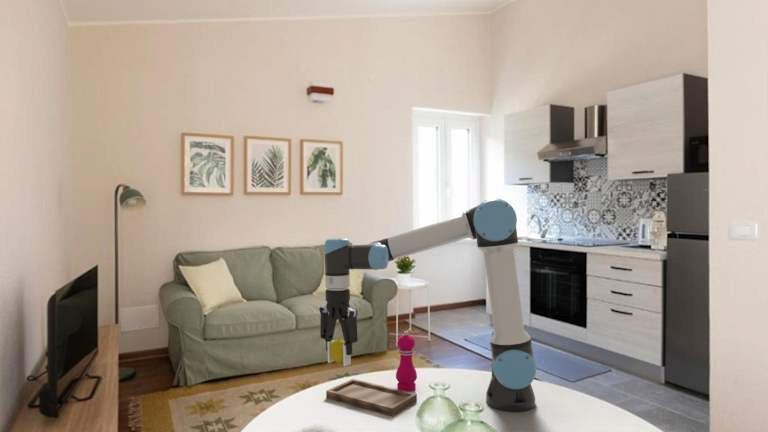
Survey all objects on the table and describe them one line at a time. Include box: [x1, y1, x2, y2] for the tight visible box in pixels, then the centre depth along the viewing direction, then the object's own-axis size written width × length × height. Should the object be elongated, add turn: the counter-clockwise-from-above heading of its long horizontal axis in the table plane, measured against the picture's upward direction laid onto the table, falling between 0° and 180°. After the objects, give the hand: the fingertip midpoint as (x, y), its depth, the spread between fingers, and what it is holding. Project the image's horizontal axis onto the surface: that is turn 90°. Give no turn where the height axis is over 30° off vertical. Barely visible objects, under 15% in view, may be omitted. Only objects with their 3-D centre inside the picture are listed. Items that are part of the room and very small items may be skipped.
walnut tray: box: [325, 378, 418, 417], centre depth 165 cm, size 26×14×2 cm, turn 55°
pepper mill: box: [395, 330, 418, 393], centre depth 175 cm, size 7×7×20 cm
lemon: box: [330, 338, 345, 365], centre depth 158 cm, size 6×6×8 cm
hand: (339, 363), depth 158 cm, fingers closed on lemon, 5 cm apart
